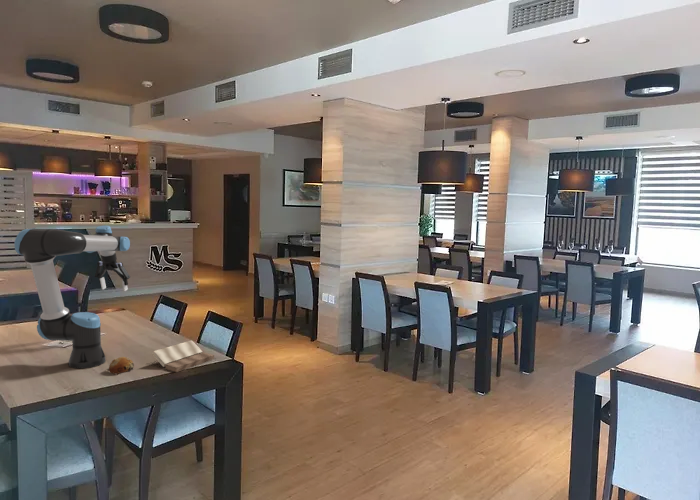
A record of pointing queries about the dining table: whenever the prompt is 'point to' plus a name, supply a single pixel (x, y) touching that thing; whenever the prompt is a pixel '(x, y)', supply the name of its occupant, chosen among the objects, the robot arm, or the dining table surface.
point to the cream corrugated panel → (176, 352)
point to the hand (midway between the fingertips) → (114, 289)
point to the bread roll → (121, 365)
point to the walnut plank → (189, 362)
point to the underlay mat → (170, 370)
